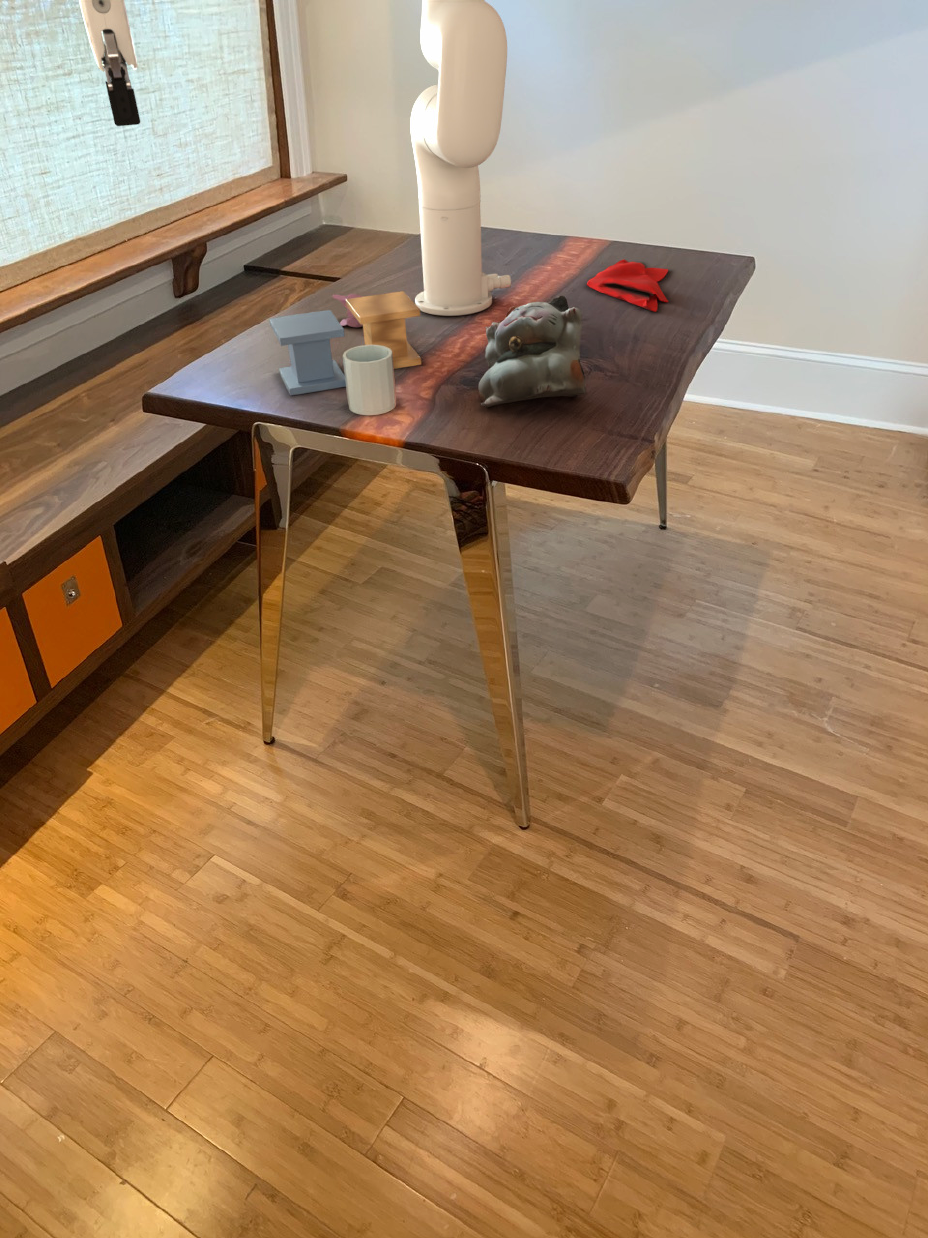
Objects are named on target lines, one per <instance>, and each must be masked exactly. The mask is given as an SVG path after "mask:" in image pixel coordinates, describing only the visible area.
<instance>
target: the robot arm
mask: <svg viewBox="0 0 928 1238" xmlns="http://www.w3.org/2000/svg"><path fill="white" fill-rule="evenodd" d="M125 2H126V1H125V0H78V3H79V6H80V7H79V8H80V11H81V14H82V15H81V16H82V18H83V21H84V26H85V31H86V33H87V37H88V41H89V45H90V48H91V50H92V53H93V56H94V59H95V62H96V64H97V67H98V69H99V71H101V72H103V73H105V78H106V80H105V86H106V92H107V96H108V101H109V105H110V110H111V113H112V118H113V122H114V125H115V126H116V127H123V126H135V125H136V126H137V125H140V124H141V117H140V113H139V109H138V108H139V107H138V103H137V100H136V98H137V97H136V93H135V89H134V88H133V87H132V82H131V80H130V76H129V71H128V66H131V67H132V69H133V70H137V69H138V67H139V64H138V59H137V54H136V50H135V45H134V40H133V36H132V30H131V25H130V21H129V17H128V11H127V7H126V3H125ZM419 37H420V38H419V40H420V41H419V42H420V47H421V52H422V54H423V56H424V58H425V60H426V62H427V63H428V64H429V65H430V66H432V68H434V69H435V70H437V71H438V83H437V84H434V85H431V86H429V87H427V88H425V89H424V90H423V91H422V92H421V93H420V94H419V95H418V97H416V100H415V102H414V104H413V106H412V109H411V114H410V121H409V123H410V124H409V127H410V129H409V130H410V137H411V138H410V139H411V145H412V150H413V157H414V163H415V169H416V170H415V171H416V180H417V181H416V182H417V192H418V193H417V194H418V211H419V212H418V213H419V227H420V228H419V229H420V243H421V244H420V245H421V246H420V247H421V262H422V275H423V276H422V278H423V279H422V280H423V291H420V292H419V293H418V294H417V295H416V296H415V298H414V303H415V304H416V305H417V306H418V307H419V308H420V312H423V313H425V314H429V315H433V316H442V317H458V316H466V315H472V314H476V313H480V312H482V311H485V310H487V309H488V308H489V307H490V306H491V305H492V304H493V295H492V293H491V292H493V291H494V289H506V288H511V286H512V278H511V276H510V275H509V274H504V275H498V273H490V274H486V273H485V272H484V271H483V264H482V263H483V261H482V258H483V257H482V222H481V220H482V219H481V216H482V215H481V180H480V179H481V178H480V170H479V166H480V165H481V164H483V163H484V162H485V161H487V159H489V157H491V155H492V153H493V152H494V150H495V148H496V146H497V143H498V141H499V137H500V133H501V127H502V119H503V109H504V98H505V87H506V77H507V66H508V65H507V62H508V39H507V32H506V28H505V25H504V22H503V20H502V17H501V15H500V13H499V12H498V11H497V10H496V9H495V8H494V6H493V5H491V3H488V2H487V1H486V0H422V2H421V20H420V35H419Z"/></svg>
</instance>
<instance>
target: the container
mask: <svg viewBox="0 0 928 1238" xmlns="http://www.w3.org/2000/svg"><path fill="white" fill-rule="evenodd" d="M342 364H343V374H344V375H345V381H346V387H345V388H346V397H347V398H346V399H347V405H348V409H349V410H350V412H352V413H353V414H356V415H362V416H378V415H382V414H387V413H388V412H390V411H393V410H394V409H395V408H396V406H397V391H396V380H395V378H396V377H395V369H394V366H393V354H392V351H391V349H390V348H387V347H385V346H380V345H365V344H364V345H357V346H354V347H351V348H348V349H347V350H345V351H344V352H343V354H342Z"/></svg>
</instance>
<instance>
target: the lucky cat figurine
mask: <svg viewBox="0 0 928 1238" xmlns="http://www.w3.org/2000/svg"><path fill="white" fill-rule="evenodd" d="M569 307H570V306H569V304H568V300H567V298H566V296H564V295H558V296H557V297H555V298H554V297H553V299H552V300H551V301H549V302H544V301H533V302H528V303H526V304H523V305H520V306H517V305H515V306H510V308H509V309H508V311H507V312H506V314H504V315H505V316H504V318H503V319H502V320H500V321H498V322H495V321H492V322H491V325H490V326H485V335H486V339H487V345H486V347H485V354H484V355H485V356H484V357H485V361H486V362H487V365H488V366H487V367H488V370H487V371H486V372H485V373H484V375H482V377H481V379H480V381H479V382H478V391H479V392H478V395H479V397H480V398H481V400H482V402H481V403H480V406H484V407H485V408H486V409H488V408H490V407H493V406H496V405H502V404H503V405H504V404H508V403H515V402H520V401H527V400H533V399H539V398H554V397H555V398H556V397H570V398H577V397H578V396H580V395H585V394H587V390H586V374H585V371H584V368H583V366H582V362H581V352H580V347H581V346H580V345H581V331H582V330H583V322H582V317H583V313H582V311H581V310H580V309H579V308H578V307H574V306H573V307H571V308H569Z"/></svg>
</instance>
